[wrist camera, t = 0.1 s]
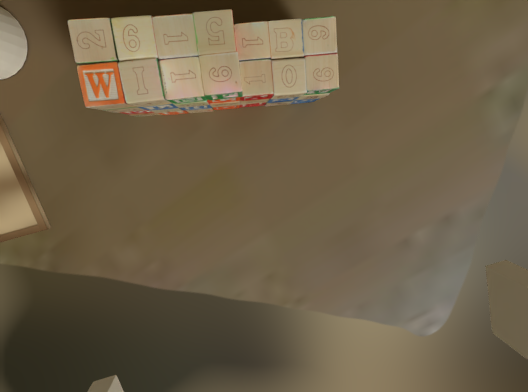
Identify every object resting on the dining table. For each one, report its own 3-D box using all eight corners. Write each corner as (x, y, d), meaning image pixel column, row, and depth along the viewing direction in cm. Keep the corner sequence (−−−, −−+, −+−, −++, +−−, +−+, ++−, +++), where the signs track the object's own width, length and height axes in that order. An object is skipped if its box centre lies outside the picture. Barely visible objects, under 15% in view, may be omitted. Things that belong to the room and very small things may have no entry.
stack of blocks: (311, 47, 35) (351, -1, 23) (314, 102, 36) (353, 84, 24) (125, 61, 33) (63, 17, 21) (135, 118, 34) (82, 107, 22)
